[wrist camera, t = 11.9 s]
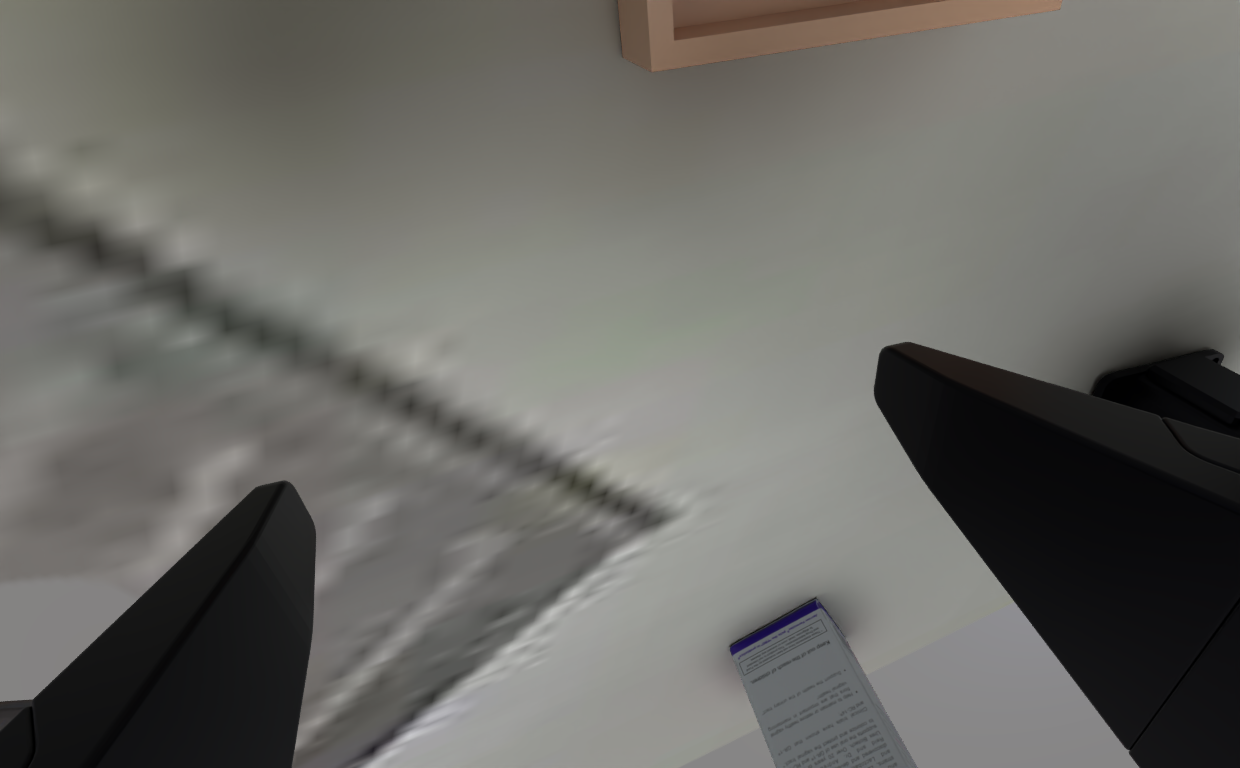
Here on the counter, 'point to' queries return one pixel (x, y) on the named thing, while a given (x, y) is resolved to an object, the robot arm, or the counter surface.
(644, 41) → the bin
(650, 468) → the counter surface
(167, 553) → the counter surface
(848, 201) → the counter surface
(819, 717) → the supplement box
